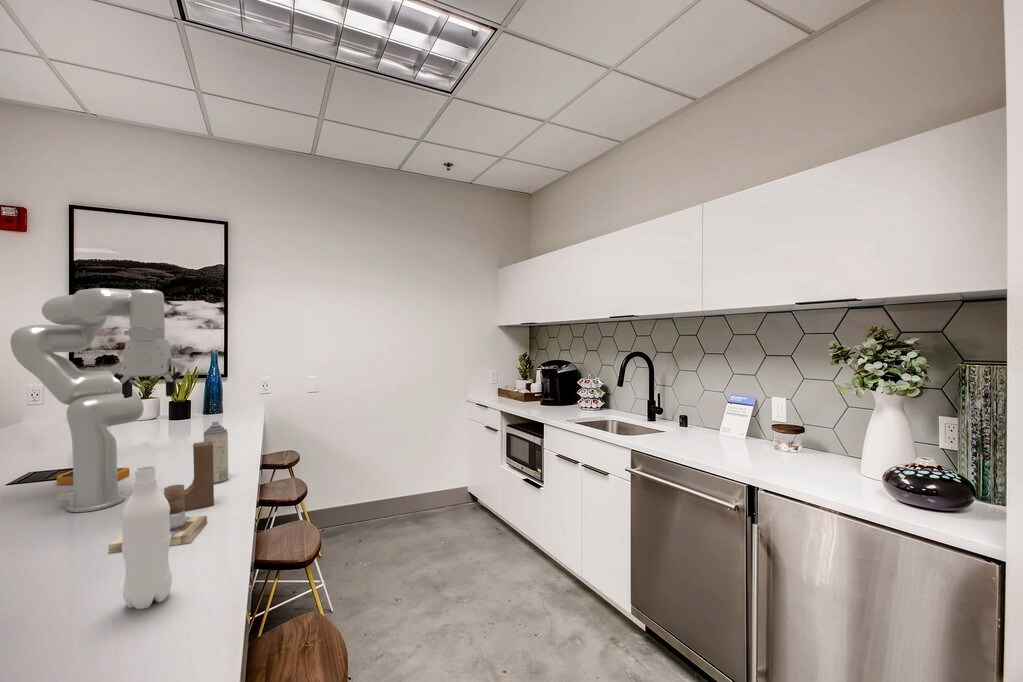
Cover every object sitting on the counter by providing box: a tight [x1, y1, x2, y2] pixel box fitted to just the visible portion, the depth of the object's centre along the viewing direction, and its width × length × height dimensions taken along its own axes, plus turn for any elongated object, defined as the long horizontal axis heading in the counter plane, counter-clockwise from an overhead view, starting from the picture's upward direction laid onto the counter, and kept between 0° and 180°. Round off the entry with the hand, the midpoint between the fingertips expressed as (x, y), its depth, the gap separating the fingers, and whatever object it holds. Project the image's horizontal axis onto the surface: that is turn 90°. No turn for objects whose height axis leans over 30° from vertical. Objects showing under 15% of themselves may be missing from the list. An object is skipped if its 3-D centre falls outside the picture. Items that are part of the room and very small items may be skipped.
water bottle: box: [120, 465, 173, 610], centre depth 86 cm, size 7×7×25 cm
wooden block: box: [184, 441, 215, 512], centre depth 132 cm, size 9×4×18 cm, turn 127°
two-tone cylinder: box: [163, 484, 186, 532], centre depth 114 cm, size 4×4×12 cm
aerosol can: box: [203, 420, 229, 485], centre depth 155 cm, size 7×7×20 cm
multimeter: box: [56, 467, 130, 486], centre depth 156 cm, size 9×18×3 cm, turn 100°
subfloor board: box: [107, 515, 208, 554], centre depth 113 cm, size 16×12×2 cm
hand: (149, 396), depth 128 cm, fingers open, 9 cm apart
